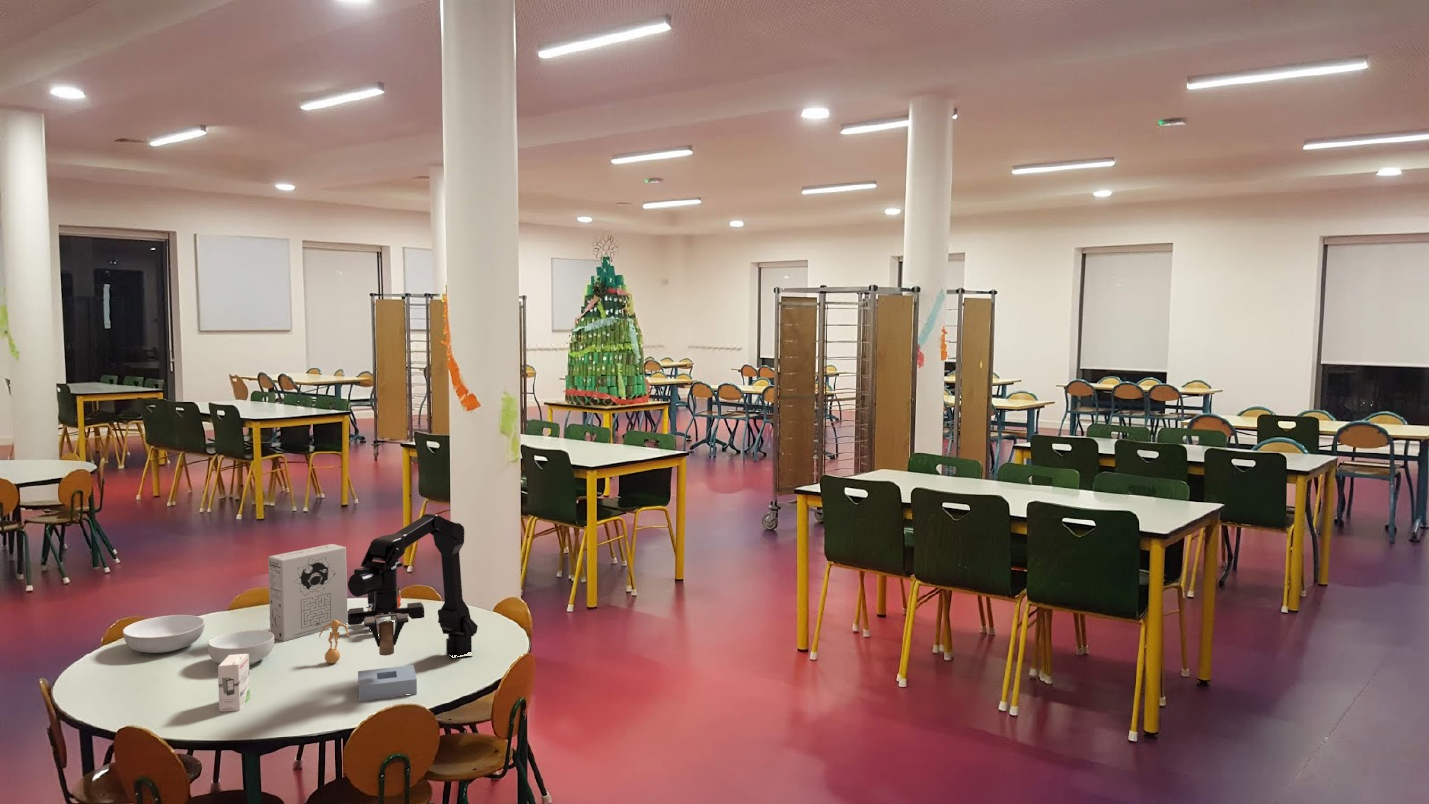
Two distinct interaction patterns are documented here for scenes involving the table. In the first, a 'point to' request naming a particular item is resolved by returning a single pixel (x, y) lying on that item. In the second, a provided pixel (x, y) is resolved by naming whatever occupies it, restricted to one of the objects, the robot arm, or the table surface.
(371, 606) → the doll family
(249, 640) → the cereal bowl
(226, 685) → the ink box
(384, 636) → the peg
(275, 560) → the cereal box
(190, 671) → the table surface
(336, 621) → the figurine
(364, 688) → the socket block
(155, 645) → the serving bowl
